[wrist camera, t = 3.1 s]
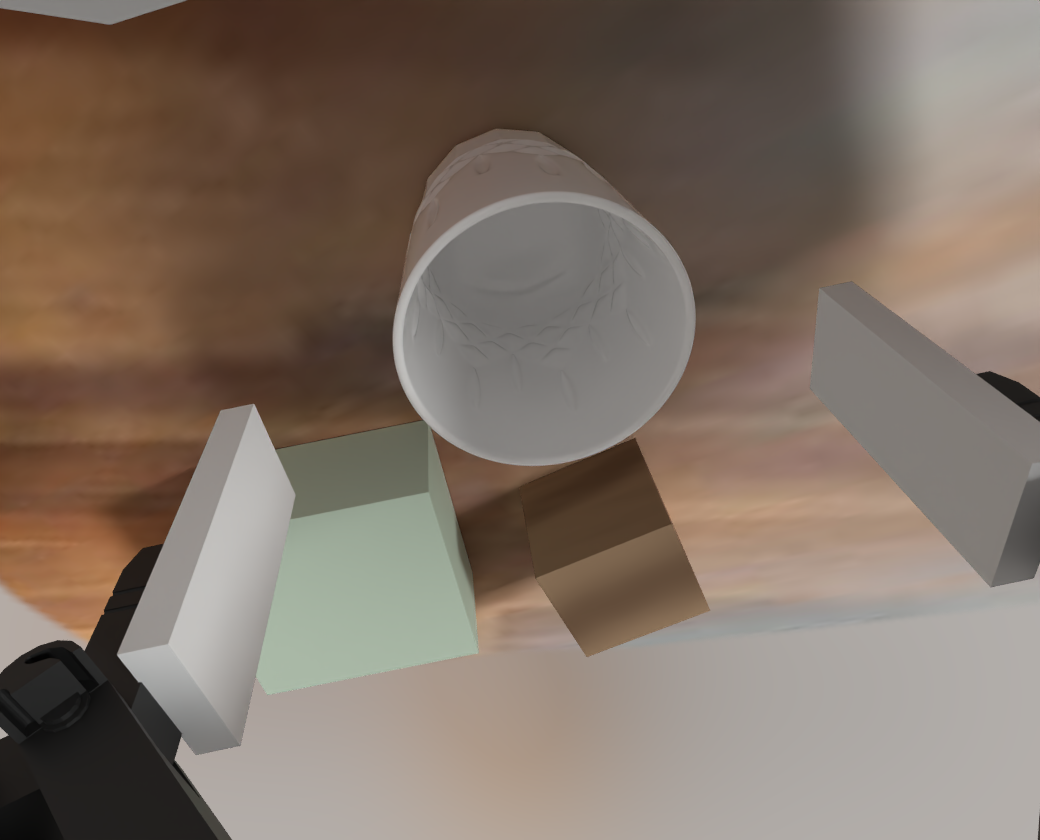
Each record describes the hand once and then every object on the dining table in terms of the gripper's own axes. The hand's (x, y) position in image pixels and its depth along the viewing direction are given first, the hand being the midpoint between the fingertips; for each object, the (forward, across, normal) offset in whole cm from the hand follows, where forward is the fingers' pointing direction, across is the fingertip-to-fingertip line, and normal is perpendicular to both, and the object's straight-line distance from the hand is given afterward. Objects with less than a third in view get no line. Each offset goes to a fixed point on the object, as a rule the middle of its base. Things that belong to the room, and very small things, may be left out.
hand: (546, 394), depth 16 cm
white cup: (+12, 0, 0) cm, 12 cm away
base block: (+12, -10, -13) cm, 20 cm away
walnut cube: (+12, +2, -15) cm, 19 cm away
